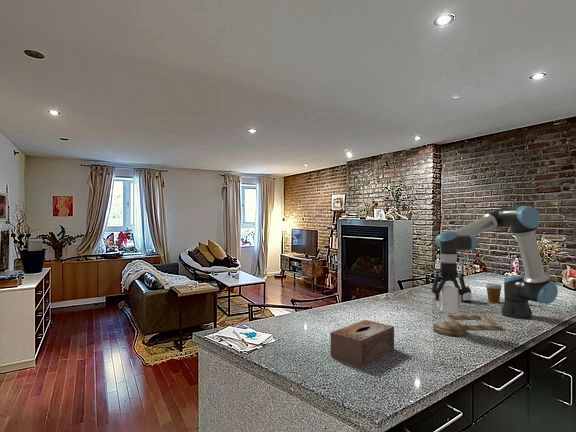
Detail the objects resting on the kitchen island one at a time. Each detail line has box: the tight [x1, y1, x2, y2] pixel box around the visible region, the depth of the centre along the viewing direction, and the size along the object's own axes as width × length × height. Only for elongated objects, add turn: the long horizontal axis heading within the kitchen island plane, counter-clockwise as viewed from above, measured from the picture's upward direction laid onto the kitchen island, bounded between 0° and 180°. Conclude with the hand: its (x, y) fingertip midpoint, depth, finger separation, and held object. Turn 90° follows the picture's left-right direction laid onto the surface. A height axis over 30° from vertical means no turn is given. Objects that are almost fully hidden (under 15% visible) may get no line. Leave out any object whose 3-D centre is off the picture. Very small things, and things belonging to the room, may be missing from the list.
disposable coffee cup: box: [485, 282, 503, 304], centre depth 235 cm, size 10×10×12 cm
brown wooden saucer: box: [432, 321, 467, 337], centre depth 171 cm, size 15×15×3 cm
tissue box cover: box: [330, 319, 395, 367], centre depth 144 cm, size 26×14×10 cm, turn 135°
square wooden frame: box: [444, 314, 503, 331], centre depth 185 cm, size 20×20×2 cm
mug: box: [439, 285, 460, 314], centre depth 172 cm, size 12×8×12 cm
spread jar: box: [458, 283, 472, 303], centre depth 238 cm, size 12×11×12 cm
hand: (449, 307), depth 172 cm, fingers closed on mug, 9 cm apart
